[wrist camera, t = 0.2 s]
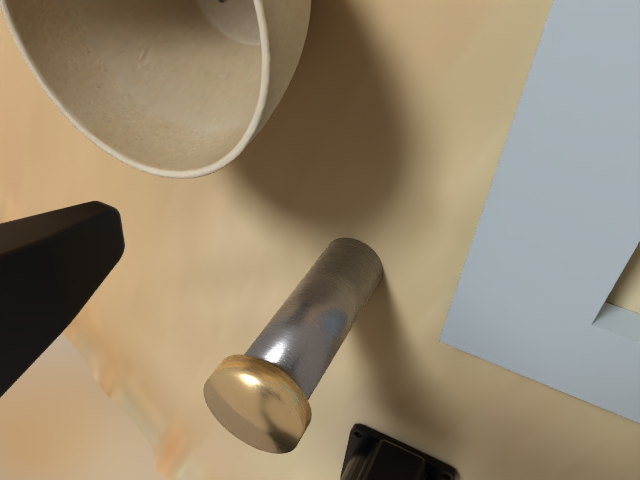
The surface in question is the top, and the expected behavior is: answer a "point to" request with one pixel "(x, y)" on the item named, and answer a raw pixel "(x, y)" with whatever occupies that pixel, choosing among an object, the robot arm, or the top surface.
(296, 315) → the bolt
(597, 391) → the keyhole board
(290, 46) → the grey bowl
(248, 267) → the top surface
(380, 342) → the top surface
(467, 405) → the top surface
